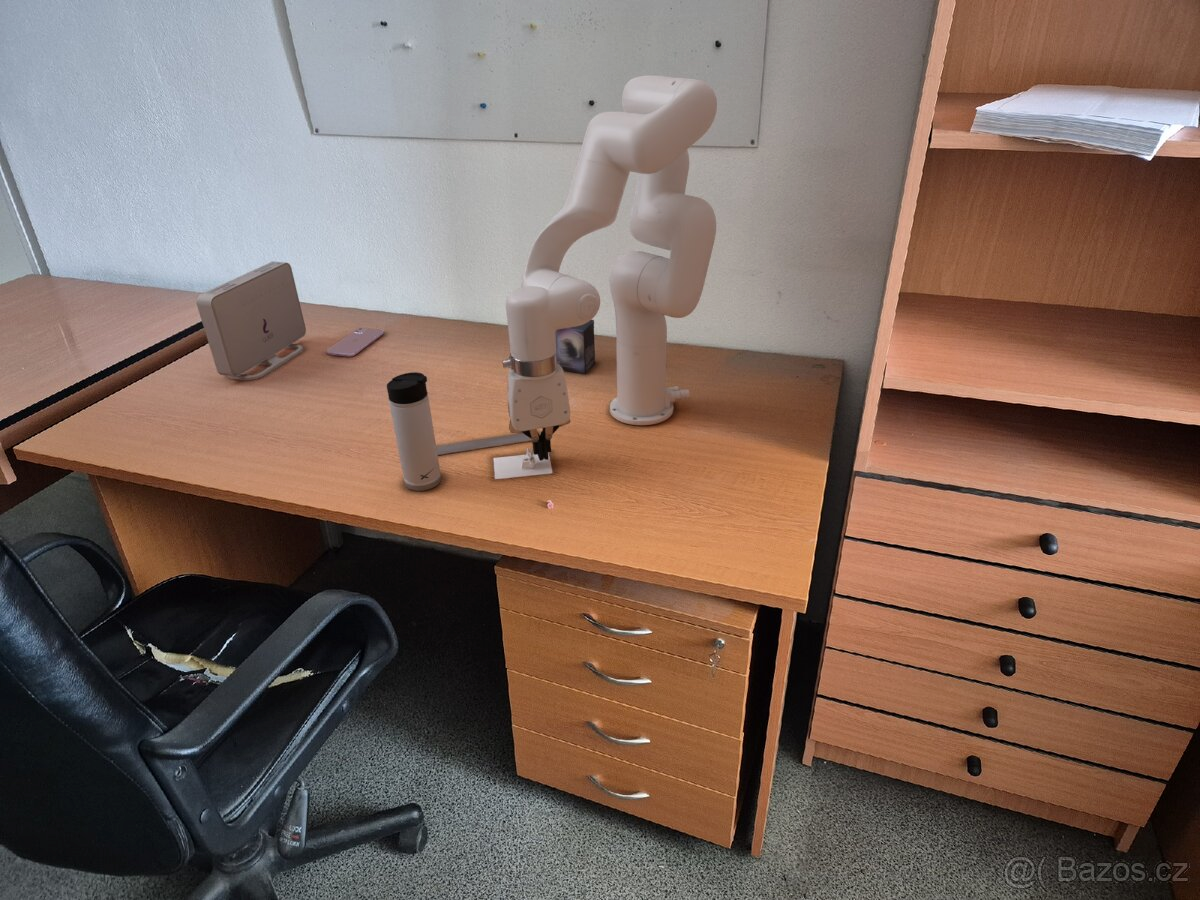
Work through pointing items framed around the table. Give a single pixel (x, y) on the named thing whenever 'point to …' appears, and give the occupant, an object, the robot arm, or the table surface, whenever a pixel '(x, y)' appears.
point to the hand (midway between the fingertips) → (542, 456)
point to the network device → (253, 320)
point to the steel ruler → (482, 444)
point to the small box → (576, 348)
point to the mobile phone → (355, 342)
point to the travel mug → (414, 431)
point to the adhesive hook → (521, 466)
